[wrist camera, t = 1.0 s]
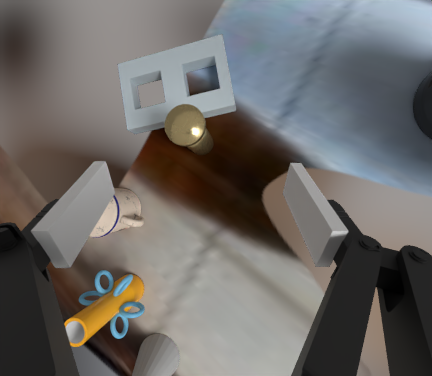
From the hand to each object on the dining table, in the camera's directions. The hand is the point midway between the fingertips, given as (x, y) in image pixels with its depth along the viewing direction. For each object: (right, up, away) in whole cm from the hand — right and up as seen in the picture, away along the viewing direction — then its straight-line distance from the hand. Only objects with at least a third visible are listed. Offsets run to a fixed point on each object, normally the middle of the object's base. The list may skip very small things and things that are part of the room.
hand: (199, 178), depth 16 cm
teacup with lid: (-17, -6, +31) cm, 36 cm away
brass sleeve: (-2, +8, +28) cm, 30 cm away
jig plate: (-7, +20, +30) cm, 36 cm away
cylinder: (-17, -22, +30) cm, 41 cm away
